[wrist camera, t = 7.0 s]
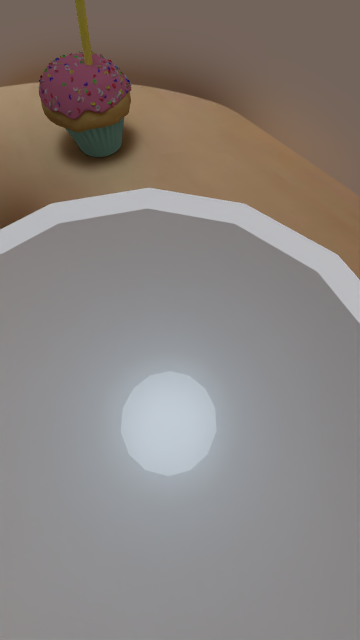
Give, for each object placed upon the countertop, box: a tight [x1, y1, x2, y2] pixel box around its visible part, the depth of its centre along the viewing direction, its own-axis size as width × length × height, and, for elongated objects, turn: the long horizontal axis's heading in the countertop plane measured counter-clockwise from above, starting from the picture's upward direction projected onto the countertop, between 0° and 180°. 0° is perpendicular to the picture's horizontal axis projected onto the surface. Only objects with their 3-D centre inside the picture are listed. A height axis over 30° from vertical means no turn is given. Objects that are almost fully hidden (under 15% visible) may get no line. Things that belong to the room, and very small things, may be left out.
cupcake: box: [39, 0, 131, 157], centre depth 22 cm, size 9×8×12 cm
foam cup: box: [0, 188, 360, 640], centre depth 10 cm, size 10×9×13 cm
